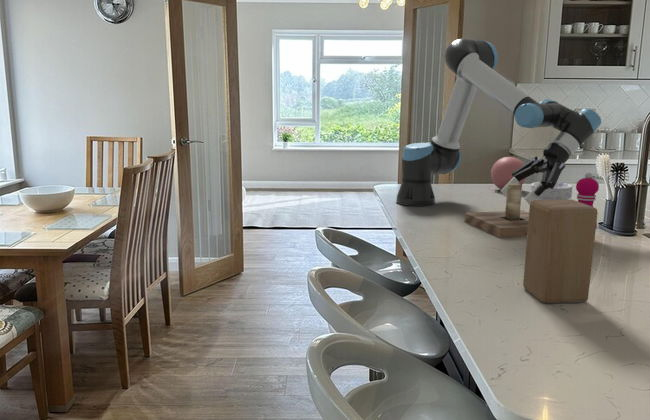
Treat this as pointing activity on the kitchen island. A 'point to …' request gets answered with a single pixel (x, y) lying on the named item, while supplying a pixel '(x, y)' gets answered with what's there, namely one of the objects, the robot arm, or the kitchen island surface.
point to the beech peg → (513, 202)
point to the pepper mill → (587, 190)
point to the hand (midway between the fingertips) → (514, 197)
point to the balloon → (505, 171)
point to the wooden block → (559, 250)
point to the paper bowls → (555, 192)
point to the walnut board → (499, 223)
